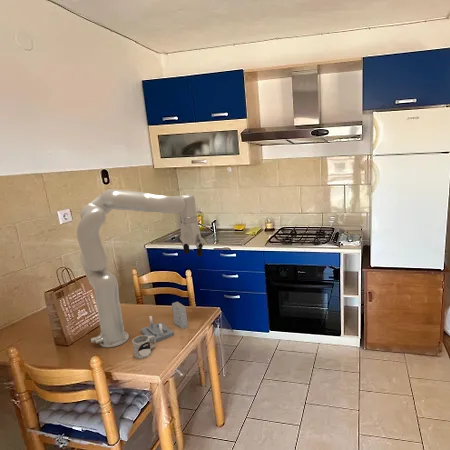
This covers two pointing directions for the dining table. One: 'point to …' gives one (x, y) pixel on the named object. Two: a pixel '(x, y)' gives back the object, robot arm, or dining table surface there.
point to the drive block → (179, 315)
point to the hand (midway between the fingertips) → (193, 254)
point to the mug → (143, 346)
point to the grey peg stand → (157, 331)
